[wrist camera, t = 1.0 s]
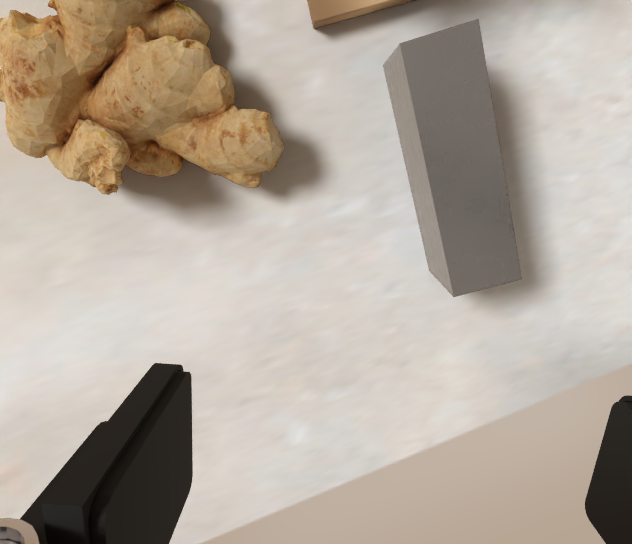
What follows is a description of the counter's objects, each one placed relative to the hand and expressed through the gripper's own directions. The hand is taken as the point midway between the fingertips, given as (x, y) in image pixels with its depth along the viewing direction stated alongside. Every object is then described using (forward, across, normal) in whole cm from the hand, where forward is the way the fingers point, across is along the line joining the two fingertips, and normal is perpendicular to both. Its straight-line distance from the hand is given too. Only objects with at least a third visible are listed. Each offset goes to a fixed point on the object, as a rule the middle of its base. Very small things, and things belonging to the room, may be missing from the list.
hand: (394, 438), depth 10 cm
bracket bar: (+22, -6, -6) cm, 23 cm away
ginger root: (+22, +14, -9) cm, 28 cm away
